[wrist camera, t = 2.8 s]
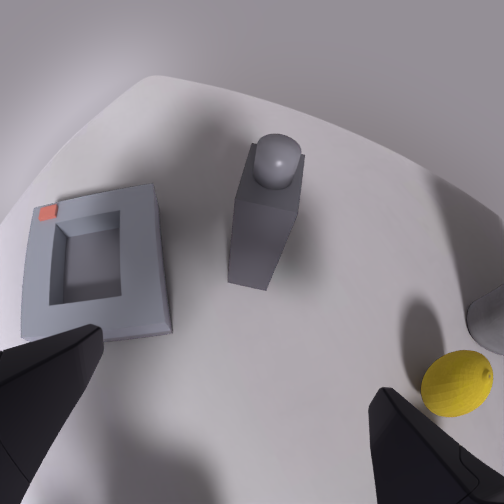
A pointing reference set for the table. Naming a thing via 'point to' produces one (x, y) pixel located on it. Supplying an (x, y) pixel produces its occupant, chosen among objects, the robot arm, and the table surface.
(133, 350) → the table surface
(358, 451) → the table surface
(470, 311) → the flask
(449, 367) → the lemon
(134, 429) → the table surface
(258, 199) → the plug
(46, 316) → the socket box
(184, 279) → the table surface
